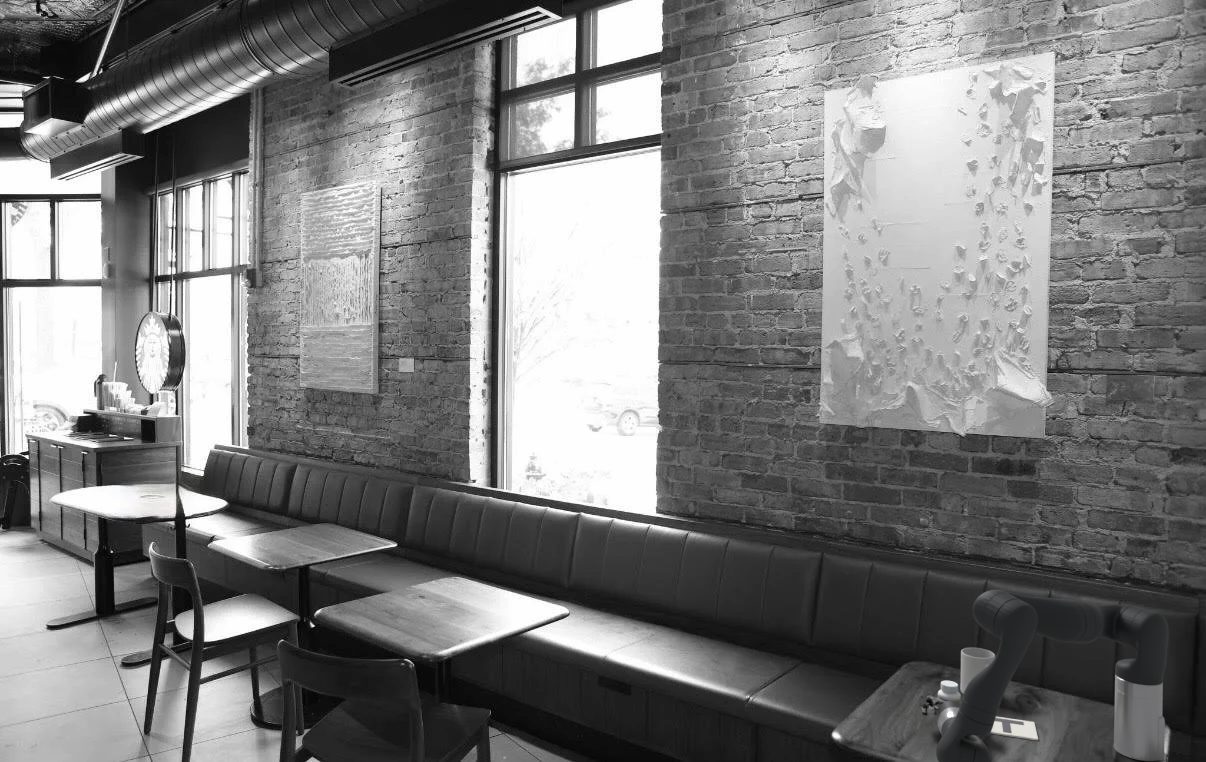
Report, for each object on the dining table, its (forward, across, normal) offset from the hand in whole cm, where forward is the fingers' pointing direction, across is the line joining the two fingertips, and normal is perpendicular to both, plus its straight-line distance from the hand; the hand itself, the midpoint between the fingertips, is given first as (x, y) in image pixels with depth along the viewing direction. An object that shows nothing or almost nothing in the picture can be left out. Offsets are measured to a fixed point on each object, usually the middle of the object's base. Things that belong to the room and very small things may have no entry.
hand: (948, 696), depth 210 cm
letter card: (0, -13, +6) cm, 14 cm away
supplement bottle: (-1, 0, +6) cm, 6 cm away
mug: (+19, -10, +6) cm, 22 cm away
